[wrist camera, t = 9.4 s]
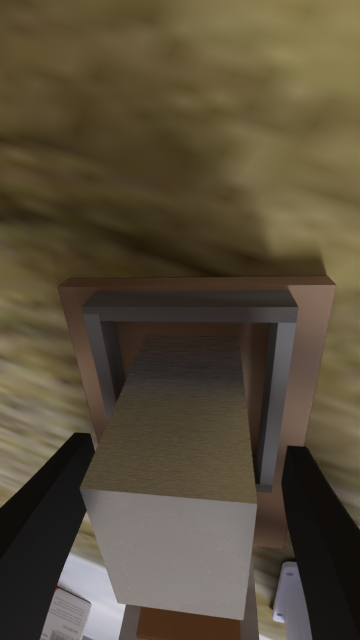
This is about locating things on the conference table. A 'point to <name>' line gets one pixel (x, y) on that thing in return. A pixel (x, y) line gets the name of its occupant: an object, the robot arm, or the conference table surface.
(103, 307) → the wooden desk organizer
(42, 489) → the robot arm
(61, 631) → the ink box
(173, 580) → the grey rectangular block
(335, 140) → the conference table surface
